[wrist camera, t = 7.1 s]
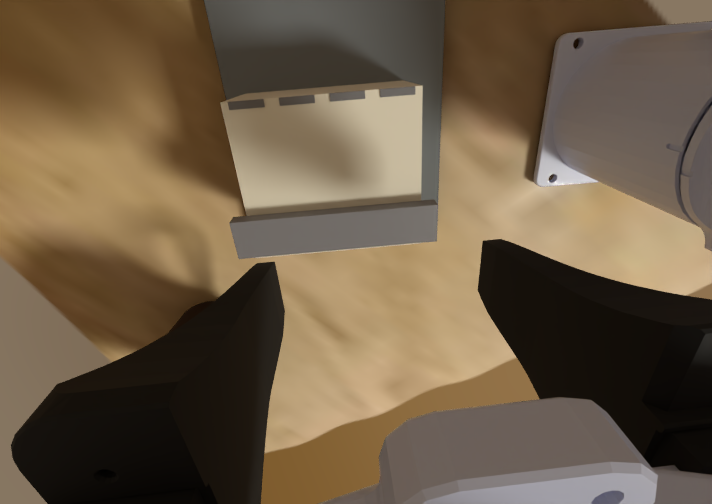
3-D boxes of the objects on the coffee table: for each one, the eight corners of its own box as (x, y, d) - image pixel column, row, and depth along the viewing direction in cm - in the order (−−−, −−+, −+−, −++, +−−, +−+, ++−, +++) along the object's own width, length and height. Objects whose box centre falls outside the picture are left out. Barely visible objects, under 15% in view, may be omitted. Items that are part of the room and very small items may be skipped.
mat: (450, -346, 13) (458, -376, 12) (433, 223, 23) (436, 229, 22) (139, -325, 13) (124, -355, 12) (261, 238, 23) (259, 245, 22)
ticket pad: (414, 79, 18) (442, 85, 14) (414, 208, 21) (436, 248, 17) (233, 94, 18) (198, 105, 13) (260, 222, 21) (240, 266, 17)
